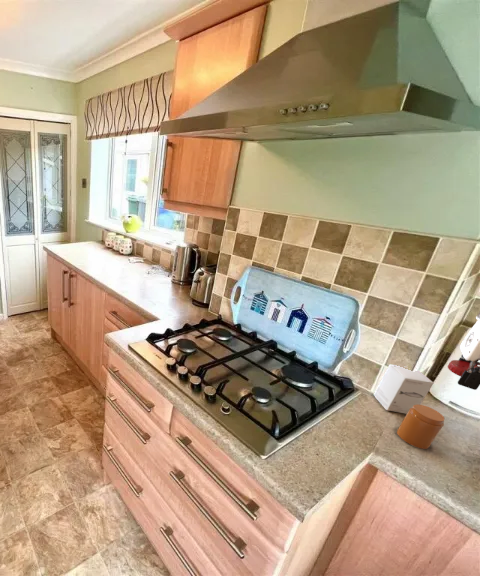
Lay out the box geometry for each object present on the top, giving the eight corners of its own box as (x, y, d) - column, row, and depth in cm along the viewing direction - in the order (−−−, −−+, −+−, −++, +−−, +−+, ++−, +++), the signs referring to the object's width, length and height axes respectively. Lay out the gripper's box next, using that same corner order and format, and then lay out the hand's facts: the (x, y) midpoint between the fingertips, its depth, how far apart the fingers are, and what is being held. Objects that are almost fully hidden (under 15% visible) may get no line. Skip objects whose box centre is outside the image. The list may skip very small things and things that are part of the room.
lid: (445, 371, 79) (448, 366, 78) (449, 362, 83) (452, 356, 82) (488, 387, 74) (492, 381, 73) (489, 376, 78) (493, 370, 77)
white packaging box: (386, 411, 94) (404, 377, 89) (372, 394, 100) (388, 363, 95) (414, 416, 92) (434, 383, 87) (398, 399, 99) (416, 367, 94)
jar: (426, 437, 85) (443, 411, 81) (431, 453, 80) (449, 426, 76) (395, 425, 88) (410, 399, 85) (398, 439, 84) (413, 413, 80)
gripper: (472, 303, 80) (439, 359, 87) (486, 325, 68) (447, 388, 75) (517, 313, 76) (478, 371, 83) (540, 338, 64) (493, 404, 71)
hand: (464, 379), depth 79 cm, fingers closed on lid, 7 cm apart
